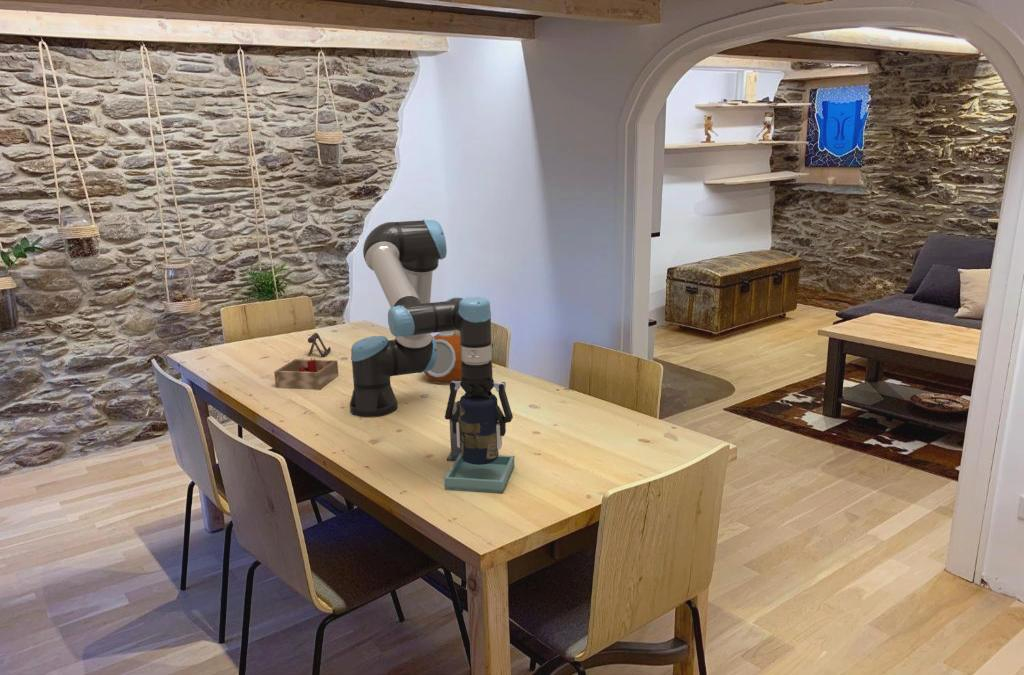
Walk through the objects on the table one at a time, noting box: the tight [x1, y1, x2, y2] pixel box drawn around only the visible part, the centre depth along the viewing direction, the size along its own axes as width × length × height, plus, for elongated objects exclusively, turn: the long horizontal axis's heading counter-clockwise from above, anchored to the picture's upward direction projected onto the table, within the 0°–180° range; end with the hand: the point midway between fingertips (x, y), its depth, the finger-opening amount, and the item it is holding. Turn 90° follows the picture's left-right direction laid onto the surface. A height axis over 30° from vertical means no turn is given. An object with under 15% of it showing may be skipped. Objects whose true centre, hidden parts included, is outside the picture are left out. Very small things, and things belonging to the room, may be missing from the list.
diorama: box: [299, 358, 323, 372], centre depth 272 cm, size 11×12×8 cm
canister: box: [459, 393, 500, 465], centre depth 186 cm, size 10×10×18 cm
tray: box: [443, 453, 515, 494], centre depth 189 cm, size 15×16×3 cm
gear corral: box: [274, 358, 340, 390], centre depth 271 cm, size 17×16×6 cm
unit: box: [446, 400, 461, 462], centre depth 201 cm, size 11×8×16 cm
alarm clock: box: [424, 331, 463, 385], centre depth 269 cm, size 19×18×17 cm
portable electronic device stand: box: [307, 332, 332, 358], centre depth 306 cm, size 9×8×8 cm
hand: (479, 446), depth 188 cm, fingers closed on canister, 10 cm apart
